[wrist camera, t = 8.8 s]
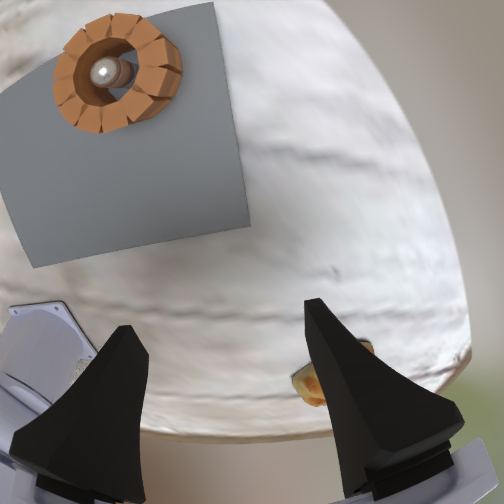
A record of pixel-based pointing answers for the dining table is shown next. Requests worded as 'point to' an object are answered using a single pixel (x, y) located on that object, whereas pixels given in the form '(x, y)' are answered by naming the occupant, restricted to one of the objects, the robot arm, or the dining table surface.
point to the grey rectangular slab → (125, 159)
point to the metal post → (113, 73)
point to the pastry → (313, 383)
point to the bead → (115, 44)
